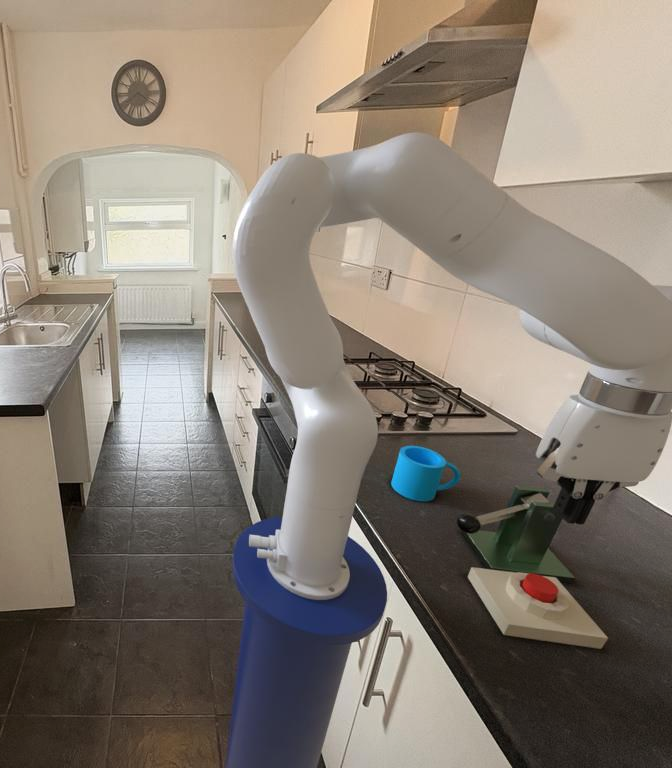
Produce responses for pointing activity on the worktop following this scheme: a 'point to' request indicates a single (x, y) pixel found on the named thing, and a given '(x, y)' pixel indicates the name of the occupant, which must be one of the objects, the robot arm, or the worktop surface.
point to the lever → (497, 514)
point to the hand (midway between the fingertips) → (567, 516)
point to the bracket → (523, 540)
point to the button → (540, 588)
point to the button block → (534, 610)
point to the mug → (421, 473)
